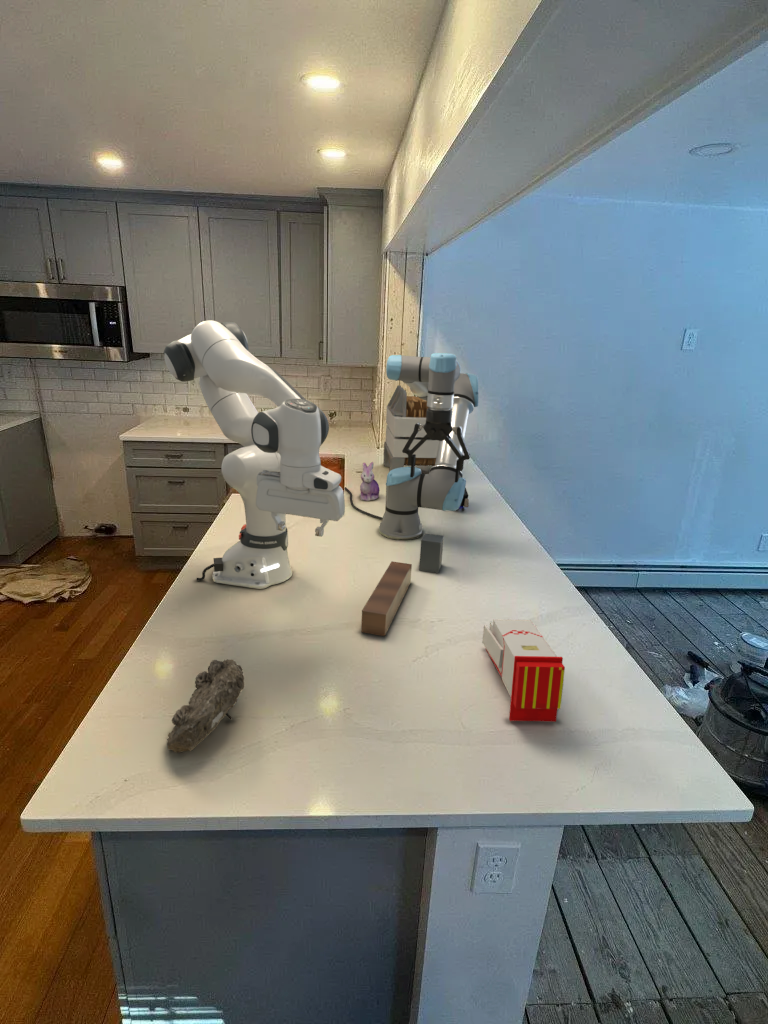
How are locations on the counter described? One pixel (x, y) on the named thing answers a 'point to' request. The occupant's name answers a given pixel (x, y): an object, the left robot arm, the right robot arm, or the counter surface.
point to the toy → (526, 669)
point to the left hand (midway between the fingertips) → (299, 532)
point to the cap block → (431, 552)
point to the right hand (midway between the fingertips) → (434, 478)
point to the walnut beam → (386, 599)
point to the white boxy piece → (406, 431)
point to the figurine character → (464, 500)
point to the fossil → (206, 705)
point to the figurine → (368, 484)
